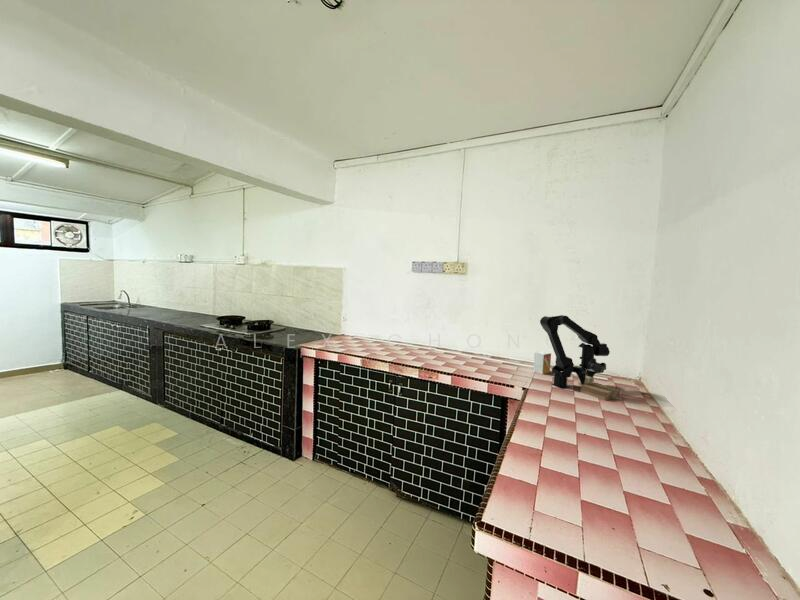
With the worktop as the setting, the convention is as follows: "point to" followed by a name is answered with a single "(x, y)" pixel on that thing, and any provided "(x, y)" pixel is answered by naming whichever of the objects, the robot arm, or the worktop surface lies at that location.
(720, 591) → the worktop surface
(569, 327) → the robot arm
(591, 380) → the maple cube
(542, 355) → the small box
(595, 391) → the walnut block
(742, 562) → the worktop surface
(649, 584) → the worktop surface
